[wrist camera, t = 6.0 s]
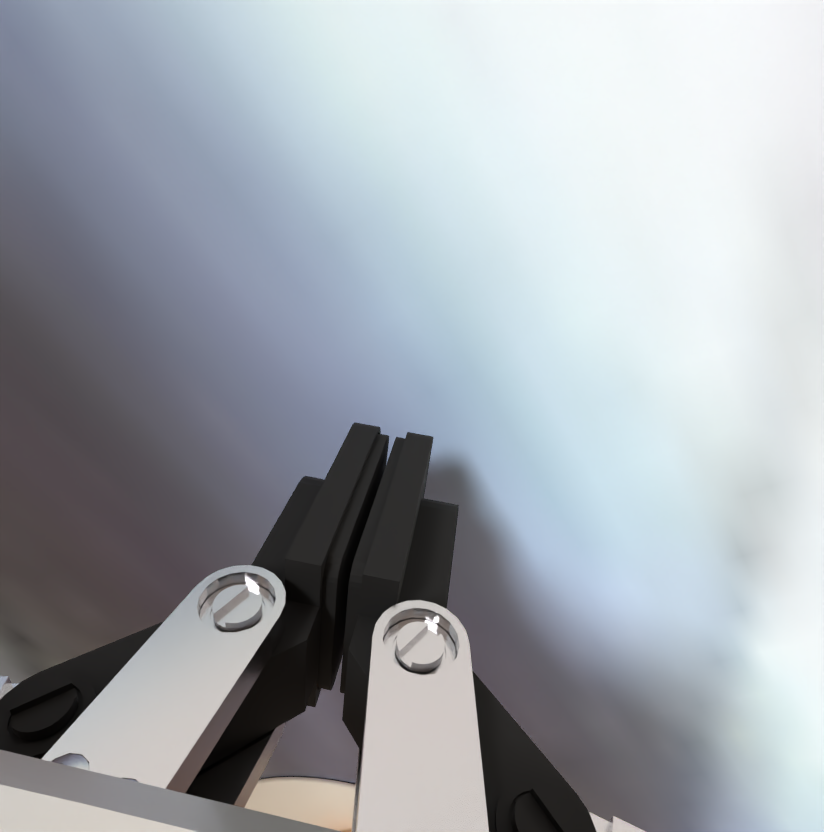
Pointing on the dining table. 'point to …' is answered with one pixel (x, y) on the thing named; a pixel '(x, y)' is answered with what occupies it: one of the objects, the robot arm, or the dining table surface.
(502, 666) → the dining table surface
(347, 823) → the cream disc
